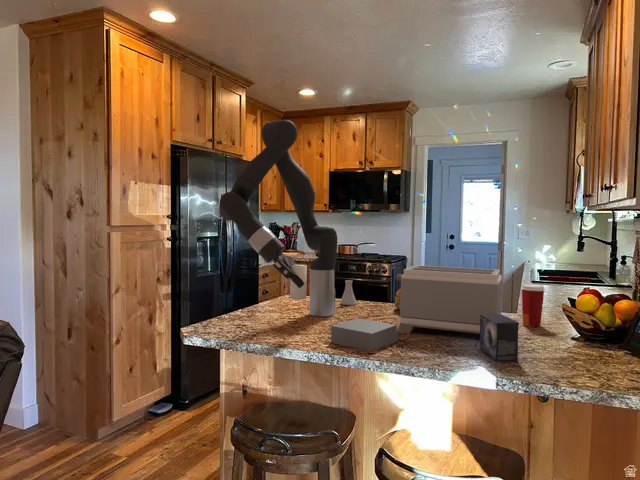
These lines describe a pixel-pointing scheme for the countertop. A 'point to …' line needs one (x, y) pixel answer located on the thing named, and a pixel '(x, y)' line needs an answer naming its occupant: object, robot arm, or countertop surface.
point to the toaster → (448, 297)
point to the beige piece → (294, 289)
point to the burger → (397, 299)
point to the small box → (499, 337)
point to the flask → (348, 294)
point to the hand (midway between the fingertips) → (304, 284)
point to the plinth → (364, 334)
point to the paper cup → (532, 304)
